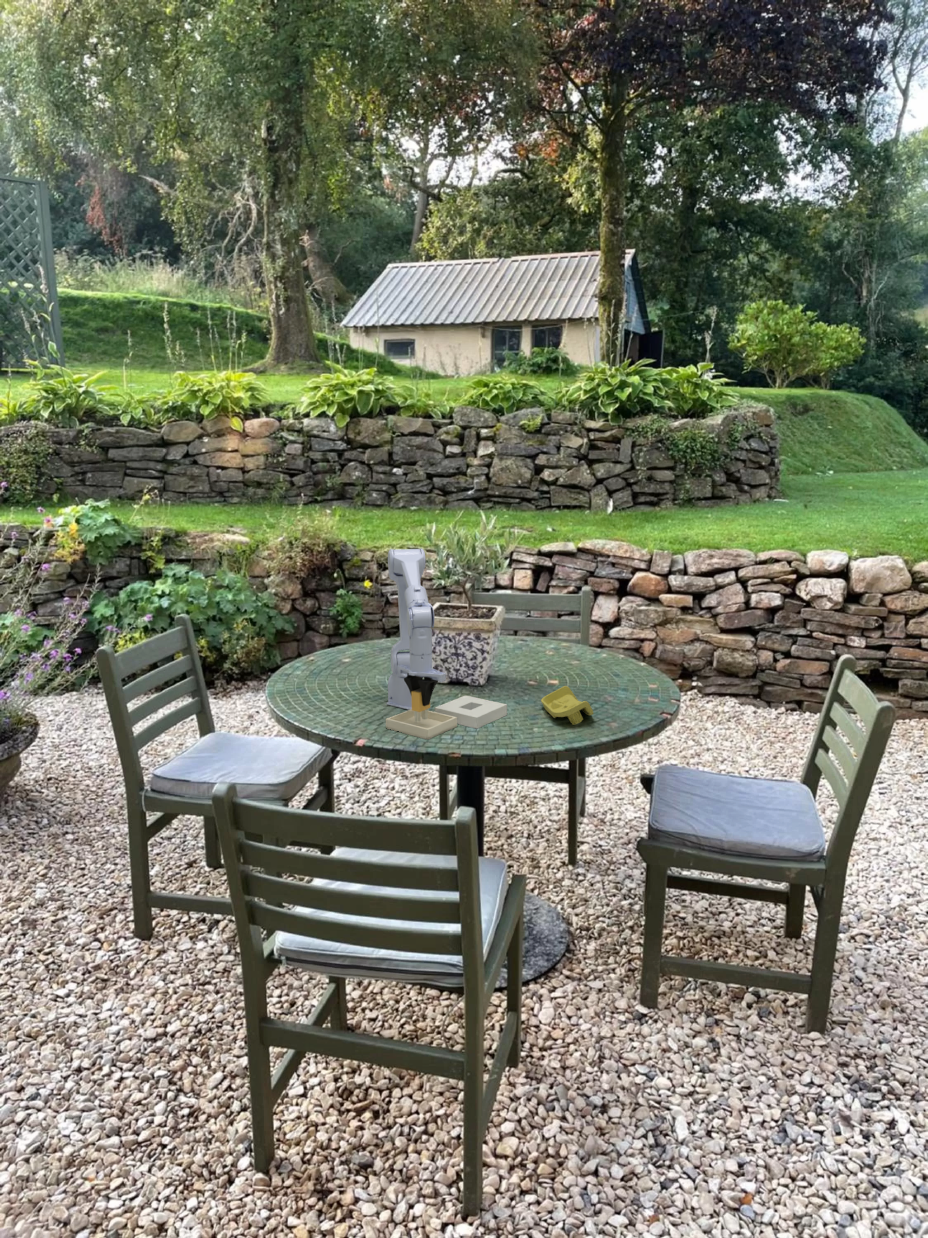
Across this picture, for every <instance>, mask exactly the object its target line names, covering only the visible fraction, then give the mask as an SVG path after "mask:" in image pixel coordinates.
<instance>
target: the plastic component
mask: <svg viewBox="0 0 928 1238" xmlns="http://www.w3.org/2000/svg"><path fill="white" fill-rule="evenodd" d="M540 701H541V704H542V706H543V708H544V710H545V711H546V712H548V713H549V715H550V716H551V717H553V718H554V719H557V718H564V717H567V718H568V720H569V722H570V724H571V723H572V724H571V725H578V724H579V723H582V721H583V720H584V718H583V716H582V714H581V712H580V711H582V712H583V713H584V714H586V715H587V716H593V715H594V714H595V713H594V710H593V709H592V706H591V705H590V702H588V701H587V700H584V701H581V700H580V701H579V699H578V698H577V697H576V695H575V694H574V693H573V691H572V690H571V688H570V687H569V686H567V685H564V686H562V687H560V688H557V689H556V690H554V691H552V692H550V693H549V694H547V695H545V696H543V697H542V698H541V699H540Z"/></svg>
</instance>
